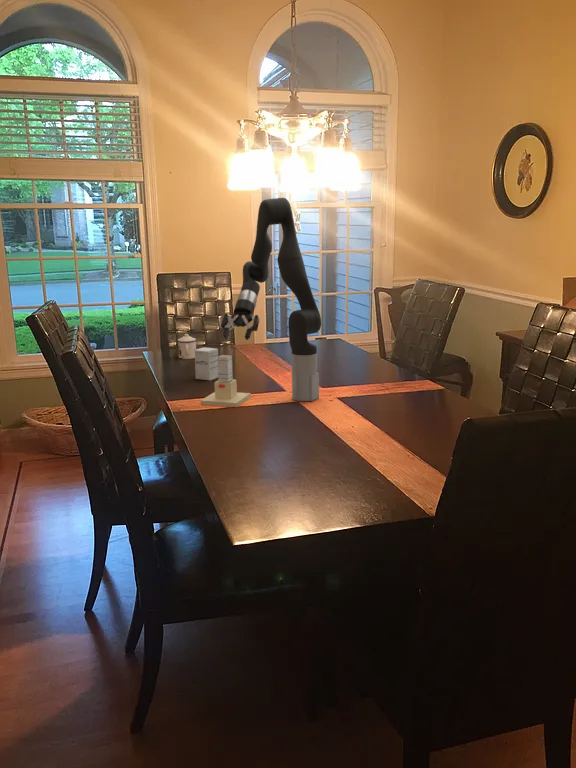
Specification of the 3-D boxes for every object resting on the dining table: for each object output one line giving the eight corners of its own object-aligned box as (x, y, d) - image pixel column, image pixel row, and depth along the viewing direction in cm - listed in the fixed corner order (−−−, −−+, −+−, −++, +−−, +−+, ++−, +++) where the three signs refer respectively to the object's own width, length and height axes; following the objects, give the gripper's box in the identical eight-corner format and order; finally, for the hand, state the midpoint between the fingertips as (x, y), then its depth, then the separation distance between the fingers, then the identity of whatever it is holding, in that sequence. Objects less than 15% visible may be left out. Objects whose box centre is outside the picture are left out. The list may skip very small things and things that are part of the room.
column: (233, 394, 242) (232, 355, 238) (229, 397, 238) (227, 357, 234) (223, 394, 243) (221, 354, 240) (218, 397, 239) (216, 357, 236)
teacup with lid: (178, 356, 323) (177, 332, 320) (197, 355, 324) (195, 332, 322) (177, 361, 312) (176, 337, 309) (196, 360, 313) (195, 336, 310)
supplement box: (195, 379, 275) (193, 349, 272) (205, 375, 281) (203, 346, 278) (209, 381, 272) (208, 351, 269) (219, 377, 278) (218, 348, 275)
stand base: (250, 397, 246) (250, 377, 244) (236, 407, 233) (236, 386, 231) (216, 394, 250) (215, 375, 248) (200, 404, 237) (200, 384, 235)
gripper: (226, 297, 253) (215, 331, 246) (260, 298, 249) (250, 333, 241) (231, 309, 259) (221, 343, 252) (265, 310, 255) (256, 344, 247)
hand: (235, 338), depth 246 cm, fingers open, 8 cm apart
